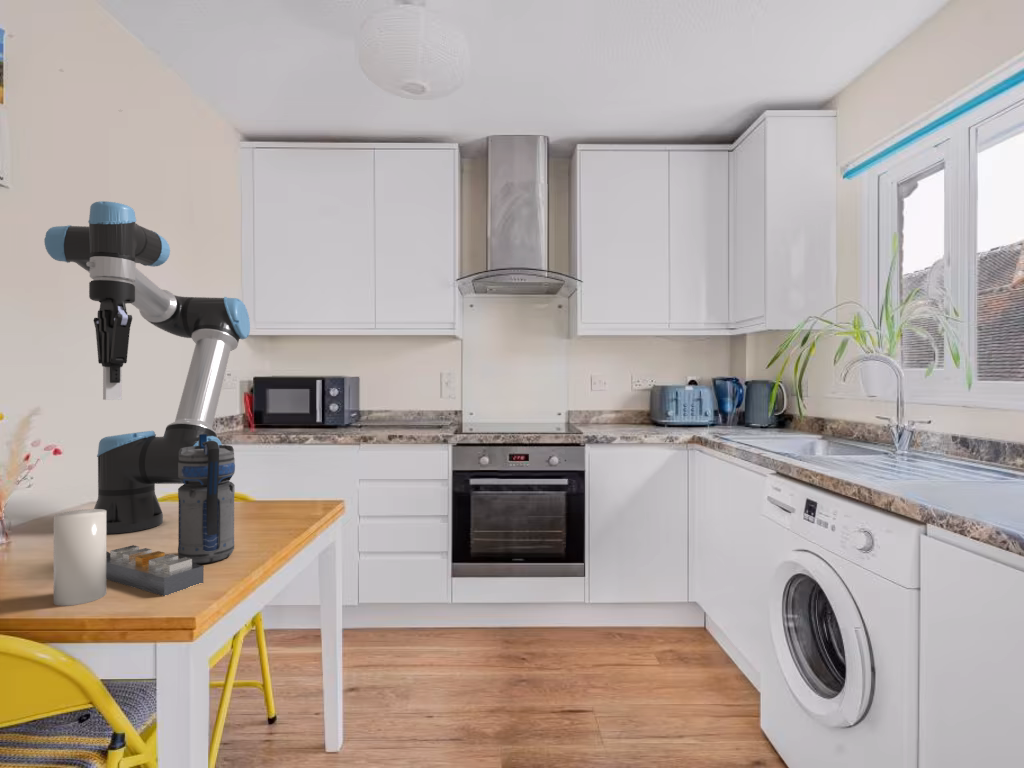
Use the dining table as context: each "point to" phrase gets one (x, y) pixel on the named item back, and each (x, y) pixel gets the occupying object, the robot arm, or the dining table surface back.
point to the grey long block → (152, 570)
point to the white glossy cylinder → (79, 556)
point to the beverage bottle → (206, 501)
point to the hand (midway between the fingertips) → (112, 399)
